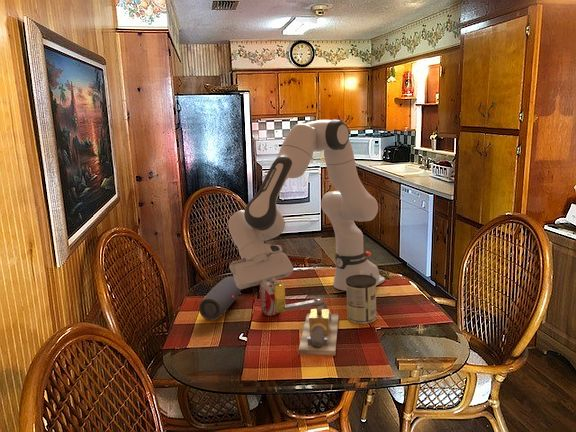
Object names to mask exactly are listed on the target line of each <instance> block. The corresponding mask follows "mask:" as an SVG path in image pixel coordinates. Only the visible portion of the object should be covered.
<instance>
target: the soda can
mask: <svg viewBox="0 0 576 432" xmlns="http://www.w3.org/2000/svg"><path fill="white" fill-rule="evenodd" d="M277 283H278V279H276V284H277ZM267 284H268V285H269V286H270V287H272V284H270V282H267ZM259 293H260V306H261V307H260V308H261V313H262V314H264V315H265V316H267V315H274V316H276V314H280V313H279V312H276V308H275V293H274V294H271V295H269V294H268V292H267V290H265V289H264V288H262V287H261V286H259Z"/></svg>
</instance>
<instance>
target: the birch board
mask: <svg viewBox="0 0 576 432" xmlns="http://www.w3.org/2000/svg"><path fill="white" fill-rule="evenodd" d="M309 316H310V313H306V317H305V322H304V325H303V329H302V334H301V337H300V343H299V347H298V350H297V351H298V355H306V356H307V355H308V356H336V351H337V341H338V331H339V318H340V317H339V313H331V320H330V329H329V336H326V337H328V345H327V346H322V347H321V348H314V347H312V346H311V345H308V340H307V339H308V336H311V335H310V329H309Z"/></svg>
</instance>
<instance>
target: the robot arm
mask: <svg viewBox="0 0 576 432" xmlns="http://www.w3.org/2000/svg"><path fill="white" fill-rule="evenodd" d="M314 151H315V152H323V155H324V160H325V161H324V162H325V165H326V172H327V176H328V180H329V183H330V184H331V185H332V186H334V187H335V188H336V189H337V190H332V191H327V192H326V193H324V195H323V196H322V198H321V201H320V206H321V207H320V208H321V210H322V212H323V213H324V214H325V215H326V216H327V218H328V220H329V221H330V223H331V226H332V228H333V232H334V238H335V255H334V260H335V270H334V271H335V272H334V276H333V282H332V283H333V284H332V286H333V287H334V288H335V289H337V290H341V291H346V292H347V290H346V278H348V277H350V276H353V275H369V276H372V277H374V278H376V287H377V286H378V285H380V284H382V283H384V282H385V281H386V279H385V277H384V276H383V275H380V271H379V268H378V266H377V265H376V264H374V263H373V262H372V261H370V260H368V258H367V257H371V255H372V252H371V251H368V250H366V251H364V233H363V232H362V230H361V229H360V228H358V226H357V225H356V223H355V222H371V221H373V220H374V218H376V216H377V214H378V212H379V203H378V201H377V199H376V198H375V197H374V196H373V195H371V194H370V192H368V190H367V189H366V188H365V186H364V185H363V183H362V181H361V179H360V177H359V174H358V169H357V166H356V161H355V160H356V159H355V156H354V151H353V147H352V143H351V141H350V130H349V126H347V124H346V122H344V121H343V120H339V119H317V120H311V121H303V122H301V123H296V124H294V125H293V126H292V127H291V128H290V130H289V132H288V133H287V135H286V136H285V138H284V141H283V142H282V144H281V147H280V149H279V152H278V154H277V156H276V158H275V160H274V161H273V162H272V164H271V166H270V167H269V169H268V172H267V173H266V175H265V177H264V179H263V181H262V183H261V185H260V187H259V189H258V191H257V193H256V194H255V195H254V196H253V197H252V198H251V199H250V200H249V201H248V203H247V205H245V207H244V209H241V210H238V211H235V212H234V213H233V214H232V215H231V216H230V218H229V219H228V221H227V226H228V231H229V233H230V236H231V239H232V241H233V243H234V245H235V246H236V247H237V249H238V253H239V256H240V258H242V259H238V260H233V261H231V262H230V264H229V270H230V272H231V274H232V277H234V280H235V283H236V286H237V287H238V288H239V289H241V290H243V289H248V288H252V287H256V286H255V285H258V284H260V285H261V287H262V288H264V289H265V290H267V292H268V294H269V295H271V294H274V293H275V292H274V285H275V284H276V280H280V279H283V278H286V277H289V276H291V275H292V273H293V272H294V266H293V264H292V262H291V261H290V258H289V257H288V255H287V254H285V252H283V248H282V246H281V245H277V244H269V243H265V242H267V241H271V240H272V239H275V238H277V237H279V236H280V235H281V234H282V233H283V232H284V230H285V226H286V222H285V219H284V217H283V215H282V214H281V213H280V211H279V210H278V208H277V200H278V197H279V195H280V193H281V191H282V190H283V187H284V185H285V183H286V181H287V180H288V179H296V178H301V177H302V176H303V175H305V172H306V171H307V169H308V167H309V164H310V163H311V160H312V157H313V154H314ZM267 282H270V284H272V287H270V286H269V285H268V284H267Z"/></svg>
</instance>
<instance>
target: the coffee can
mask: <svg viewBox="0 0 576 432" xmlns="http://www.w3.org/2000/svg"><path fill="white" fill-rule="evenodd" d="M346 290H347V291H346V312H347V313H346V315H347V316H346V318H347V320H348V321H349V322H351V323H353V324H358V325H359V324H360V325H366V324H371V323H374V322H375V321H376V320H377V319H378V318H377V286H376V278H374V277H372V276H369V275H353V276H350V277H348V278H346Z"/></svg>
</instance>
